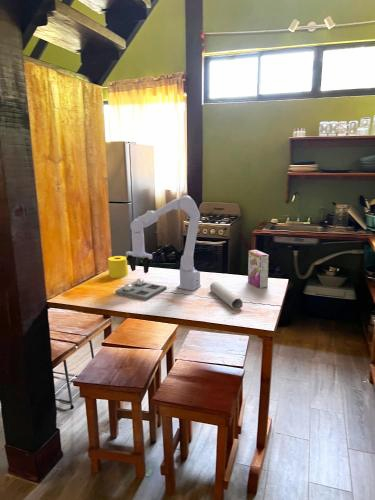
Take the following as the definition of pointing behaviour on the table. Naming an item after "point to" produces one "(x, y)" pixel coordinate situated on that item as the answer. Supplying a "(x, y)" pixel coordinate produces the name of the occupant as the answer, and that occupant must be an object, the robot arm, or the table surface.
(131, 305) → the table surface
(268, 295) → the table surface
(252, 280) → the candy bar box
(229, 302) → the tube
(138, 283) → the loose pin
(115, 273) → the tape roll
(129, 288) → the pin
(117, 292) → the hole board
